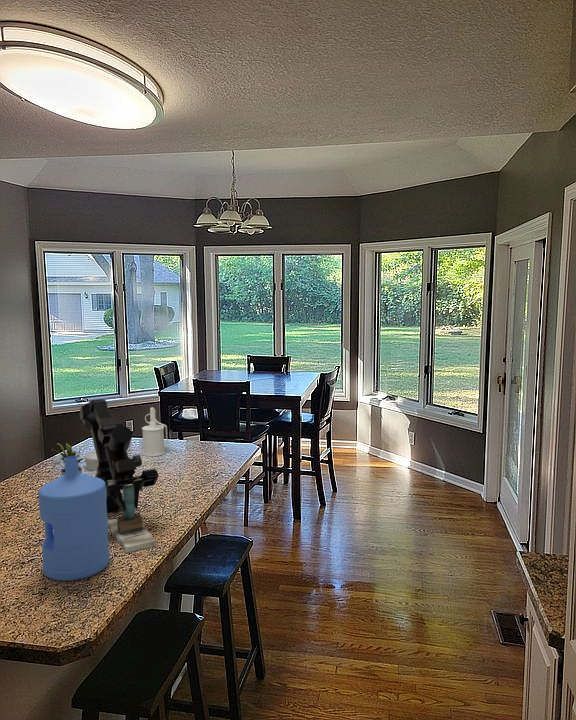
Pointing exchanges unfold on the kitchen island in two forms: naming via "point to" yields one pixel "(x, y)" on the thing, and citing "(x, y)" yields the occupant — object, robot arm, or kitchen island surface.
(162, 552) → the kitchen island surface
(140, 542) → the off-white shallow tray
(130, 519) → the teal brown tall piece
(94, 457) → the ramekin
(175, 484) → the kitchen island surface
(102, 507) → the water jug
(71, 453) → the house plant
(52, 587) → the kitchen island surface
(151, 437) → the white oil can
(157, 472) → the robot arm
